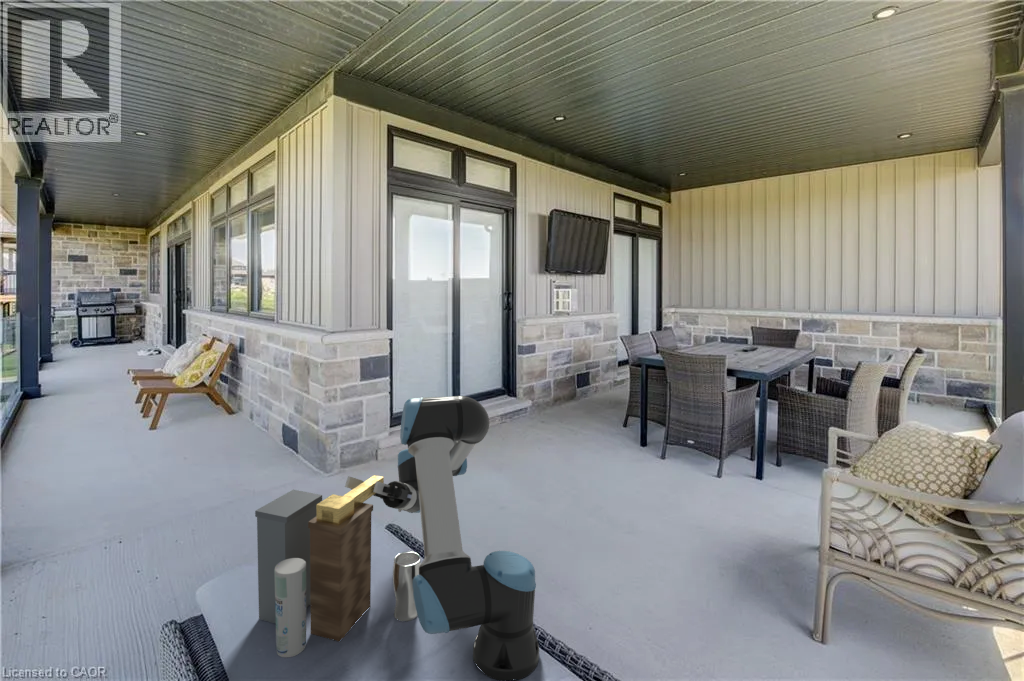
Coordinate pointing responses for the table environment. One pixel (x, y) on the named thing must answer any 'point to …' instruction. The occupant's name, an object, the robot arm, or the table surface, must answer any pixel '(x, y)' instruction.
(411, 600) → the beer glass
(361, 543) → the block
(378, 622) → the table surface
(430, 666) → the table surface
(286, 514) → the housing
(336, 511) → the pin
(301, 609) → the spray can
